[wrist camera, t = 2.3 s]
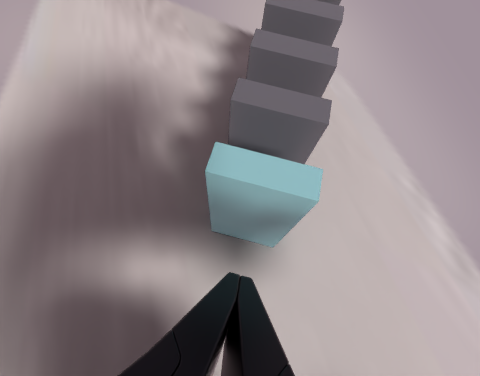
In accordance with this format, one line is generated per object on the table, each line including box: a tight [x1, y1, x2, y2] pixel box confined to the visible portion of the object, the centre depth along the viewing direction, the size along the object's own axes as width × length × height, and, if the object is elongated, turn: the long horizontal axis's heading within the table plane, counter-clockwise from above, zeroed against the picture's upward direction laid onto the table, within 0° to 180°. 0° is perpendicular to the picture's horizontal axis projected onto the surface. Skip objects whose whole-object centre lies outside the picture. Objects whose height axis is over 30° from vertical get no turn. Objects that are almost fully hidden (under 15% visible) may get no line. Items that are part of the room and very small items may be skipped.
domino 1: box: [261, 0, 344, 46], centre depth 21 cm, size 2×5×10 cm, turn 76°
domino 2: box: [246, 29, 339, 98], centre depth 19 cm, size 2×5×10 cm, turn 76°
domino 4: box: [205, 142, 323, 247], centre depth 16 cm, size 2×5×10 cm, turn 76°
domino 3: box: [228, 78, 332, 164], centre depth 17 cm, size 2×5×10 cm, turn 76°
